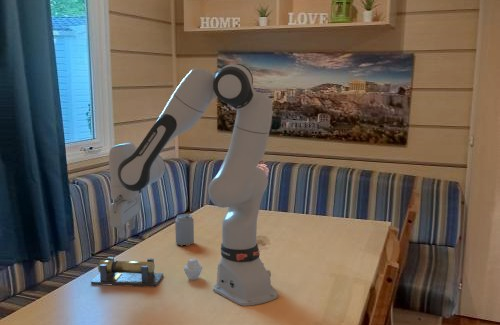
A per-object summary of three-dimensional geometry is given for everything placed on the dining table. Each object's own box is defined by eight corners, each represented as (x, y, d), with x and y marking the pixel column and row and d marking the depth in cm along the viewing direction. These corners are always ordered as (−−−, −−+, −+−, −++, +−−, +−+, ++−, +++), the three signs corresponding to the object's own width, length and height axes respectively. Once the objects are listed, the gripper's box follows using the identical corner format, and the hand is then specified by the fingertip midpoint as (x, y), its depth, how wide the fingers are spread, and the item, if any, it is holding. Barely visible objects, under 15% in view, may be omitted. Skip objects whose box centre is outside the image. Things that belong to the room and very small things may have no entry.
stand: (163, 276, 172) (162, 258, 171) (156, 286, 163) (155, 268, 162) (101, 274, 174) (100, 256, 173) (91, 284, 165) (90, 265, 164)
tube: (155, 267, 169) (153, 259, 167) (152, 276, 165) (150, 267, 163) (103, 266, 170) (101, 257, 168) (99, 274, 167) (97, 266, 165)
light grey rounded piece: (185, 282, 166) (185, 262, 165) (182, 275, 172) (182, 256, 171) (203, 280, 168) (203, 261, 167) (200, 274, 174) (200, 254, 173)
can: (192, 246, 202) (192, 218, 200) (174, 246, 202) (173, 218, 200) (195, 241, 209) (194, 213, 207) (177, 240, 209) (176, 213, 207)
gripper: (123, 199, 153) (125, 242, 155) (143, 186, 173) (145, 224, 175) (103, 199, 153) (106, 242, 156) (125, 186, 174) (127, 224, 176)
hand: (127, 233), depth 166 cm, fingers open, 8 cm apart
